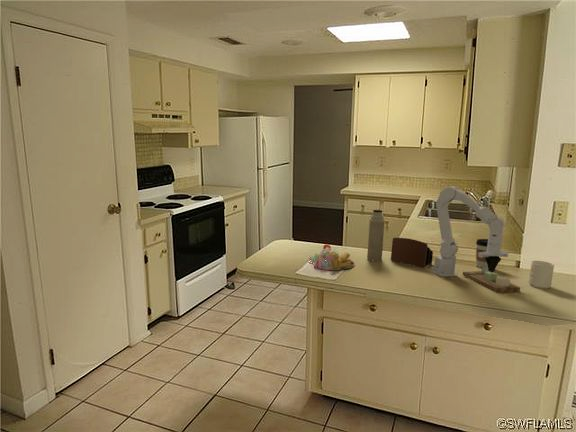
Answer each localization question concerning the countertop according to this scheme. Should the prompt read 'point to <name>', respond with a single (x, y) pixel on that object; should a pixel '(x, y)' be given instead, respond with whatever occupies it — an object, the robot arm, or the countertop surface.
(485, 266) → the slider knob
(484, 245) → the coffee cup
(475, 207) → the robot arm
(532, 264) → the mug
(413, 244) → the letter holder
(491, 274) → the sage green cube
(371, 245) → the thermos bottle
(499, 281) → the beige cube
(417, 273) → the countertop surface
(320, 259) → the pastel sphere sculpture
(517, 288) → the brown flat board
